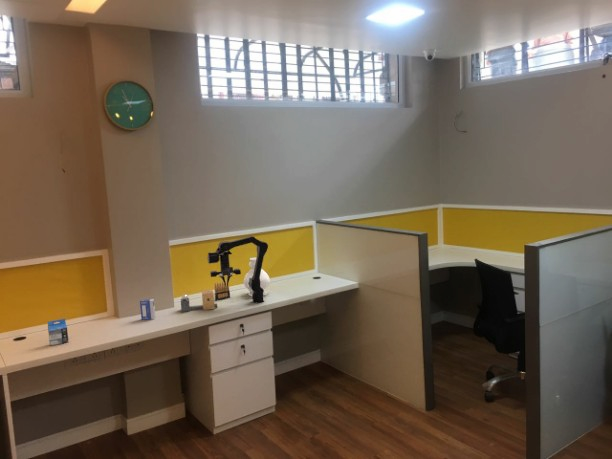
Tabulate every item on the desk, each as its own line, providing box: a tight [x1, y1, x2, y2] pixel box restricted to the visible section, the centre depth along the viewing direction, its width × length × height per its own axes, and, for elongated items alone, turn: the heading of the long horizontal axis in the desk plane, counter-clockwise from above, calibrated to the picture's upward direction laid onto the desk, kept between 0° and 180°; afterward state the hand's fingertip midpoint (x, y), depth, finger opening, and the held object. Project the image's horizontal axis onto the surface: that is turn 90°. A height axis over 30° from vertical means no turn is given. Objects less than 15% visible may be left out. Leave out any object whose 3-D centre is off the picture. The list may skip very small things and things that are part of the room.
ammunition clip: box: [214, 280, 231, 302], centre depth 357 cm, size 11×2×12 cm, turn 125°
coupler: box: [180, 294, 218, 313], centre depth 335 cm, size 22×7×10 cm, turn 103°
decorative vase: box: [243, 256, 271, 297], centre depth 364 cm, size 18×18×25 cm
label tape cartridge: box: [47, 318, 69, 347], centre depth 282 cm, size 9×4×12 cm, turn 121°
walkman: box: [139, 298, 157, 321], centre depth 319 cm, size 8×3×12 cm, turn 91°
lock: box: [201, 289, 216, 311], centre depth 336 cm, size 7×8×10 cm
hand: (226, 286), depth 338 cm, fingers closed
